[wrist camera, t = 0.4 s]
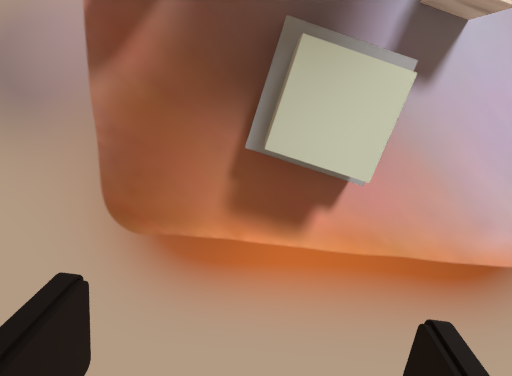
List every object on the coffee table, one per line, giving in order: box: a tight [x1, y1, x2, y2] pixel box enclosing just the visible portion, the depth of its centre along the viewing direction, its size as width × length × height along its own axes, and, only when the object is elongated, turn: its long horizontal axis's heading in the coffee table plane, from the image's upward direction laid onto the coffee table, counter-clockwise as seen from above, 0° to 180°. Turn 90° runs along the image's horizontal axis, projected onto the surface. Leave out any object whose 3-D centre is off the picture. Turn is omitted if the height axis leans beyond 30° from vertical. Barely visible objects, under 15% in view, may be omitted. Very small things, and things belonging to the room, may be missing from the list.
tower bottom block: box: [245, 15, 418, 186], centre depth 35 cm, size 12×12×5 cm
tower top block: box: [265, 33, 417, 183], centre depth 30 cm, size 9×9×5 cm
